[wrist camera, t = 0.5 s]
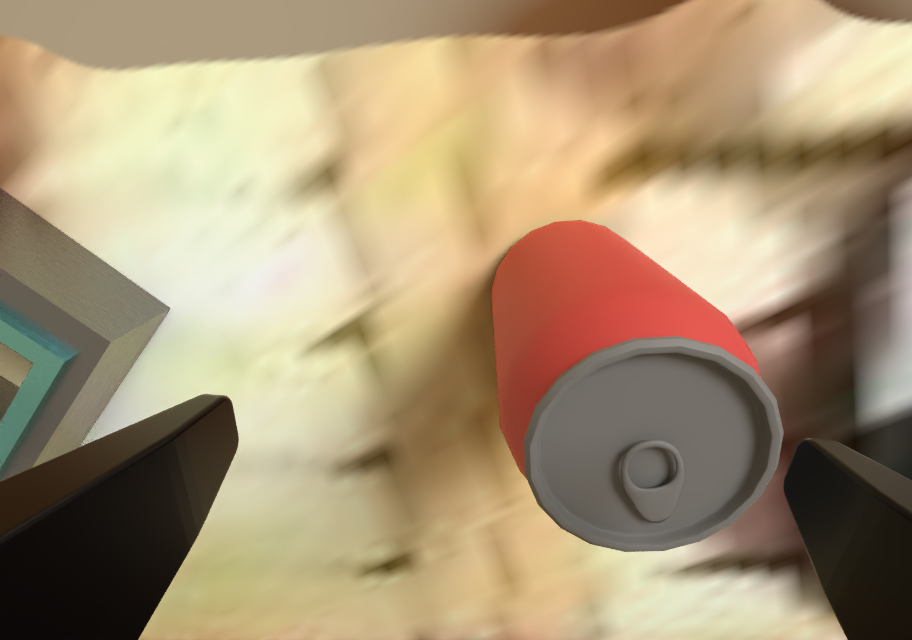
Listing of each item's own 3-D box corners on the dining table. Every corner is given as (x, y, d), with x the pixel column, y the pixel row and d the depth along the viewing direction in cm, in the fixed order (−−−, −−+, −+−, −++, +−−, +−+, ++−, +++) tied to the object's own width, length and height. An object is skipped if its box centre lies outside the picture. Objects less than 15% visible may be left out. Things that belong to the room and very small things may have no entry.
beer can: (506, 372, 24) (530, 589, 12) (476, 237, 21) (470, 352, 10) (649, 344, 23) (811, 550, 12) (632, 201, 21) (812, 283, 9)
